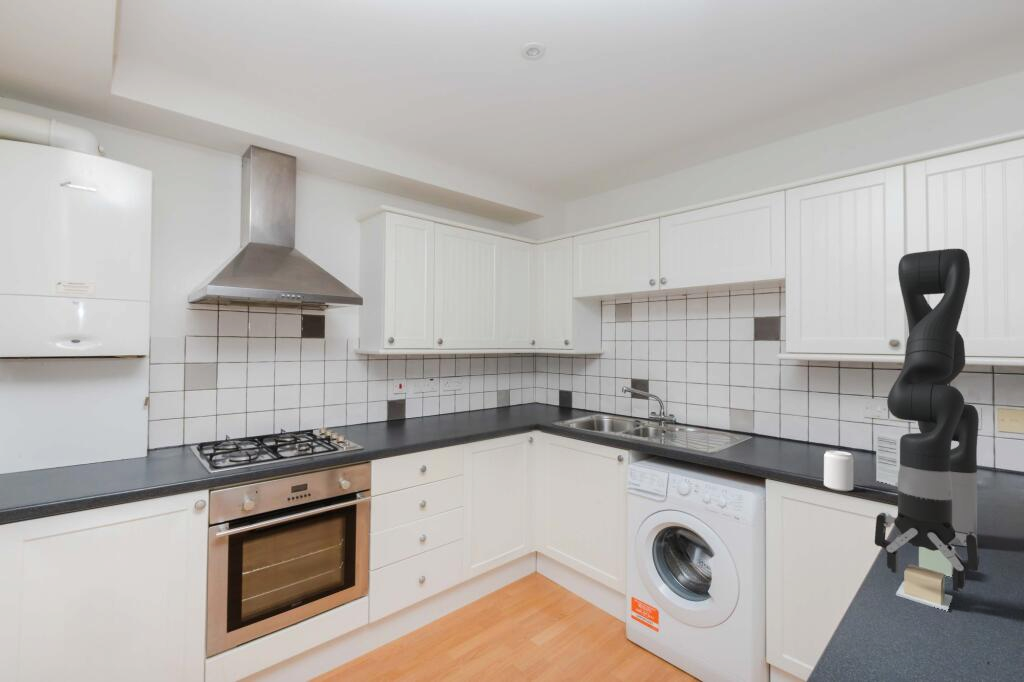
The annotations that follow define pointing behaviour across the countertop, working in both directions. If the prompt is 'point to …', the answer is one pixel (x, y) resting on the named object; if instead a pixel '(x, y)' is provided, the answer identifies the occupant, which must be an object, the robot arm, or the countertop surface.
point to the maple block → (924, 584)
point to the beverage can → (838, 470)
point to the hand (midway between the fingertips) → (924, 580)
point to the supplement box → (888, 458)
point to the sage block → (935, 561)
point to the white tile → (944, 604)
